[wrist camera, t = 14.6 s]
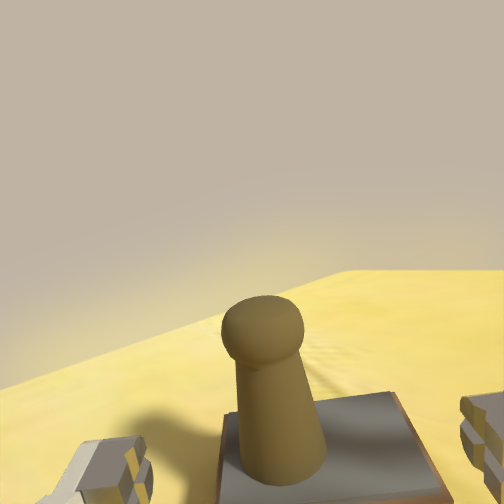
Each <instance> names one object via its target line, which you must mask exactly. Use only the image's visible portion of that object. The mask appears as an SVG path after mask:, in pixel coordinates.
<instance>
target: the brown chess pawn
mask: <svg viewBox="0 0 504 504" xmlns="http://www.w3.org/2000/svg"><path fill="white" fill-rule="evenodd" d="M221 336H222V341H223V344H224V346H225V348H226V350H227V352H228V354H229V355H230V357H231V358H233V359H234V360H235V363H236V383H237V403H238V423H239V443H240V461H241V463H242V466H243V468H244V471H245V472H246V473H247V474H248V475H249V476H250V477H251V478H252V479H254V480H256V481H258V482H261V483H263V484H265V485H272V486H279V487H280V486H287V485H294V484H297V483H299V482H302V481H304V480H306V479H309V478H310V477H311V476H312V475H313V474H315V473H316V472H317V471H318V470H319V469H320V467H321V466H322V464H323V462H324V461H325V459H326V453H327V446H326V442H325V438H324V435H323V431H322V428H321V424H320V421H319V418H318V414H317V411H316V407H315V404H314V401H313V397H312V394H311V391H310V387H309V384H308V380H307V377H306V374H305V370H304V367H303V364H302V360H301V357H300V353H299V348H300V347H301V344H302V342H303V338H304V323H303V319H302V316H301V314H300V311H299V309H298V308H297V307H296V306H295V305H294V304H293V303H292V302H291V301H290V300H288V299H285V298H282V297H279V296H271V295H270V296H258V297H253V298H249V299H245V300H243V301H241V302H238V303H237V304H236V305H234V306H233V307H231V308H230V309H229V310H228V311H227V312H226V314H225V316H224V318H223V321H222V329H221Z"/></svg>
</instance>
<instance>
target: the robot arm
mask: <svg viewBox="0 0 504 504" xmlns="http://www.w3.org/2000/svg"><path fill="white" fill-rule="evenodd" d="M460 411H461V412H462V414H463V415H464V417H465V419H464V421H463V422H462V423H461V425H460V437H461V441H462V445H463V448H464V451H465V453H466V455H467V457H468V459H469V460H470V462H471V463H472V465H473V466H474V467H475V468H477V469H479V470H480V471H482V472H484V483H485V485H486V486H487V488H488V489H489V491H490V492H491V494H492V495H493V497H494V498H495V500H496V501H497V503H498V504H504V391H500V392H493V393H485V394H477V395H469V396H462V398H461V400H460ZM145 451H146V445H145V442H144V438H143V437H141V436H130V437H120V438H110V439H103V440H93V441H85V442H83V443H82V444H80V446H79V447H78V449H77V451H76V453H75V454H74V456H73V458H72V460H71V461H70V463H69V465H68V467H67V469H66V470H65V472H64V474H63V476H62V477H61V479H60V481H59V483H58V484H57V486H56V488H55V490H54V491H53V493H52V495H45V496H44V497H43V498H42V499H40V500H39V501H38V502H37V503H35V504H149V503H150V500H151V496H152V492H153V470H152V466H151V462H150V461H149V460H147V459H146V458H145V457H144V454H145Z"/></svg>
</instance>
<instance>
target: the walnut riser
mask: <svg viewBox="0 0 504 504" xmlns="http://www.w3.org/2000/svg"><path fill="white" fill-rule="evenodd" d="M314 404H315V407H316V411H317V414H318V418H319V421H320V424H321V428H322V431H323V435H324V438H325V442H326V446H327V453H326V459H325V461H324V462H323V464H322V466H321V467H320V469H319V470H318V471H317V472H316V473H315V474H313V475H312V476H311V477H310V478H309V479H306V480H304V481H302V482H299V483H297V484H294V485H287V486H280V487H279V486H272V485H265V484H263V483H261V482H258V481H256V480H254V479H252V478H251V477H250V476H249V475H248V474H247V473H246V472H245V471H244V468H243V466H242V463H241V461H240V443H239V423H238V412H230V413H229V414H225V415H224V420H223V429H222V437H221V445H220V454H219V462H218V470H217V479H216V487H215V495H214V504H454V500H453V498H452V496H451V495H450V493H449V491H448V489H447V487H446V485H445V484H444V482H443V480H442V478H441V476H440V474H439V473H438V471H437V469H436V467H435V465H434V463H433V462H432V460H431V458H430V456H429V454H428V452H427V451H426V449H425V447H424V445H423V443H422V441H421V440H420V438H419V436H418V434H417V432H416V430H415V429H414V427H413V425H412V423H411V421H410V419H409V418H408V416H407V414H406V412H405V410H404V408H403V407H402V405H401V403H400V401H399V399H398V397H397V396H396V394H395V392H390V391H387V392H380V393H372V394H365V395H357V396H350V397H342V398H335V399H327V400H320V401H314Z"/></svg>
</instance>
